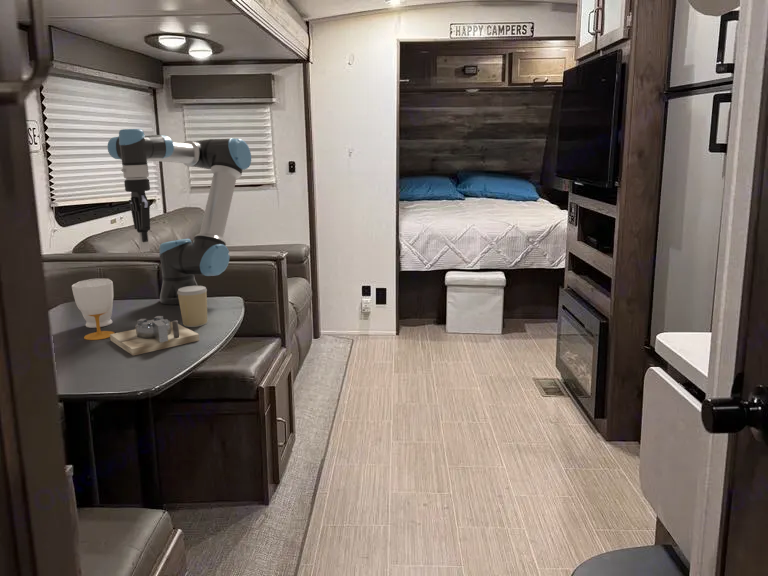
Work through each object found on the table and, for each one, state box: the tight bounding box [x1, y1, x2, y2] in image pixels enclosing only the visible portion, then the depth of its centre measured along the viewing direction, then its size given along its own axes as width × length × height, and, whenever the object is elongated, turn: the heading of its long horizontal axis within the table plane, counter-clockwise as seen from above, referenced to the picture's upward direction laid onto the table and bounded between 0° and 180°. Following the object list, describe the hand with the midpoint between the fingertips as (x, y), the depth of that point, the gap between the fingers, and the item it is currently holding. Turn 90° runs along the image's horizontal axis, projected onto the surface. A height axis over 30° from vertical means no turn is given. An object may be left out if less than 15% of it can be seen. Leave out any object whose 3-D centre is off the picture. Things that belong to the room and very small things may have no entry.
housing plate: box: [109, 320, 200, 357], centre depth 198 cm, size 20×20×7 cm
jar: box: [76, 277, 114, 329], centre depth 217 cm, size 11×10×15 cm
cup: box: [71, 279, 115, 341], centre depth 204 cm, size 12×12×17 cm
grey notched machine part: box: [135, 315, 171, 343], centre depth 195 cm, size 16×10×5 cm, turn 34°
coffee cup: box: [177, 285, 208, 328], centre depth 215 cm, size 9×9×12 cm
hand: (145, 251), depth 213 cm, fingers closed
